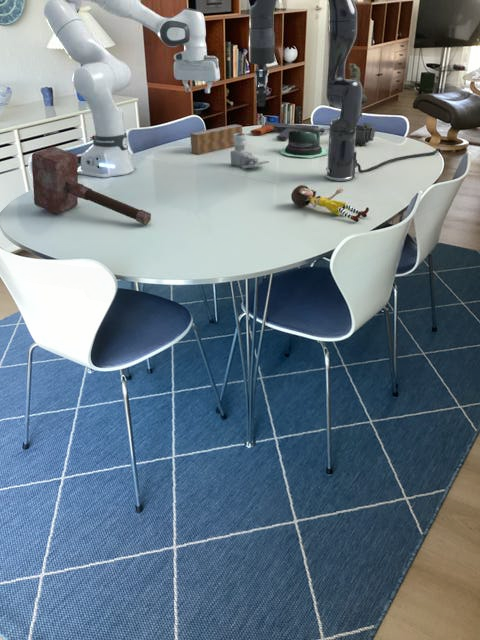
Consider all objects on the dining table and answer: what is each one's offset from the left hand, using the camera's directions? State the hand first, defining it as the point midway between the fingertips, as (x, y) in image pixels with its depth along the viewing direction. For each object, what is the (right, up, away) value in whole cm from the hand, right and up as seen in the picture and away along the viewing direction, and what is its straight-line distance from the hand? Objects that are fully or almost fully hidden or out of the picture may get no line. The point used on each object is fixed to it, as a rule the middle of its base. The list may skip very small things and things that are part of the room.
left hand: (197, 92), depth 227 cm
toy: (+69, -15, +20) cm, 73 cm away
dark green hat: (+44, -22, +8) cm, 50 cm away
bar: (+7, -18, +18) cm, 26 cm away
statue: (+73, -1, +42) cm, 84 cm away
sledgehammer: (-28, -61, -55) cm, 87 cm away
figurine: (+44, -60, -56) cm, 93 cm away
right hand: (+24, -27, -57) cm, 67 cm away
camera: (+20, -33, -10) cm, 40 cm away
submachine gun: (+39, -5, +37) cm, 54 cm away
